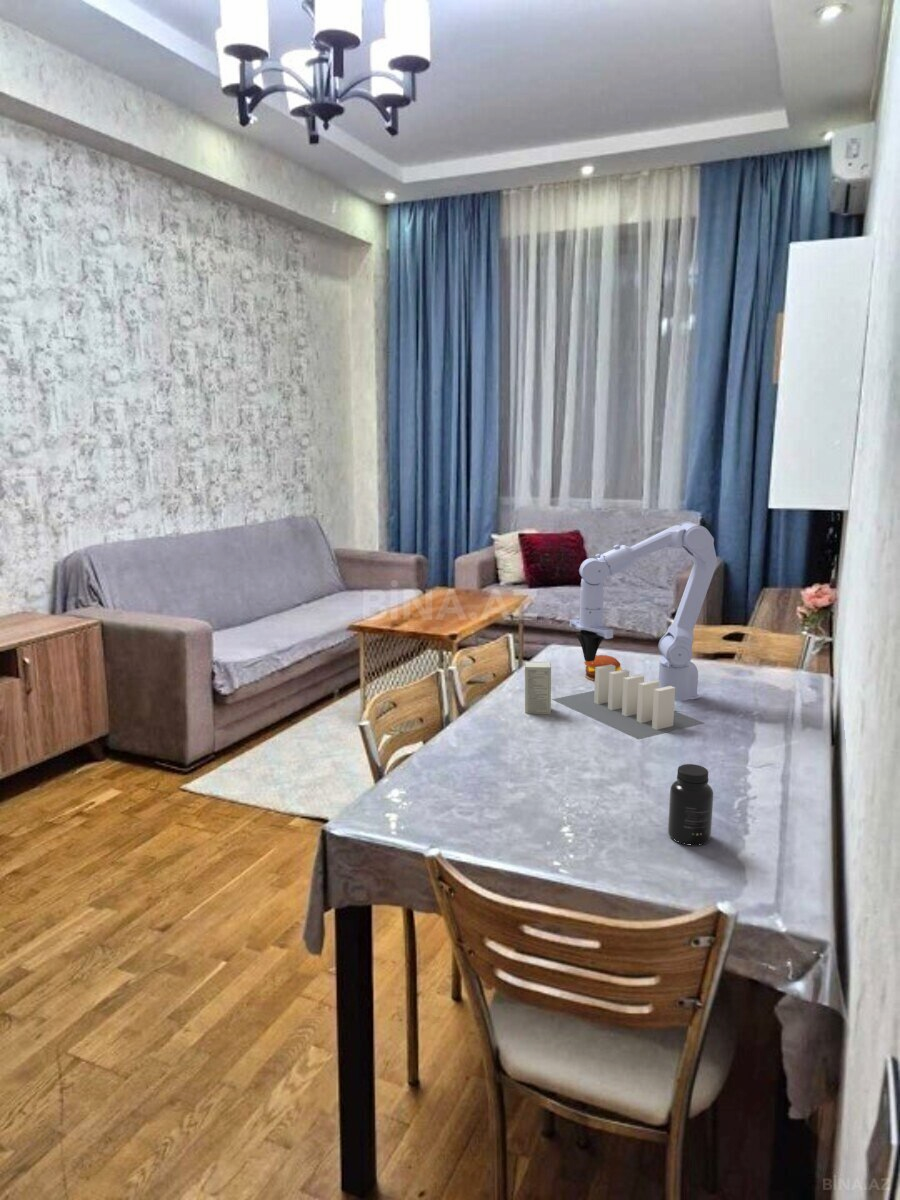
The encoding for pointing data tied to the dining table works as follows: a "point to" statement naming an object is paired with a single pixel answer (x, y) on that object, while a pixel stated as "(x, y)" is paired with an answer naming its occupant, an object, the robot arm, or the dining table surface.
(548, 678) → the skincare box
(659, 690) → the domino
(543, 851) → the dining table surface
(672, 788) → the supplement bottle
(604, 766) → the dining table surface
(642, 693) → the domino
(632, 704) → the domino
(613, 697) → the domino
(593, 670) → the hamburger
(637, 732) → the mat
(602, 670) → the domino
